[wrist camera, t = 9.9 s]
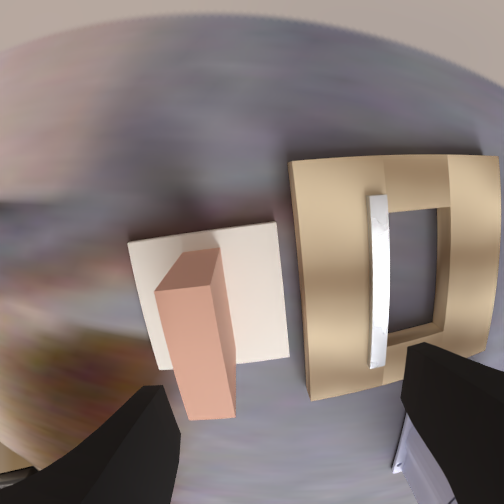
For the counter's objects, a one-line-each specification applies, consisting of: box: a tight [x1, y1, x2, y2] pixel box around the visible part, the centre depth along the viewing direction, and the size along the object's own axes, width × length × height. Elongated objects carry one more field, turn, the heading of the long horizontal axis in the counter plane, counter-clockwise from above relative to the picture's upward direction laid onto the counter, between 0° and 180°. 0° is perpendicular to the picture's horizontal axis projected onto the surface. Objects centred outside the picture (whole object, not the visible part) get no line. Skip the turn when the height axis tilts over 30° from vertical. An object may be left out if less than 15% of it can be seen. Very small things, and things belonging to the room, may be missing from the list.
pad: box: [127, 221, 290, 370], centre depth 17 cm, size 8×8×1 cm
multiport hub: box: [0, 466, 39, 489], centre depth 22 cm, size 4×14×2 cm, turn 123°
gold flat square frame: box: [287, 154, 501, 401], centre depth 17 cm, size 14×14×2 cm
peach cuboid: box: [154, 248, 236, 420], centre depth 14 cm, size 6×2×6 cm, turn 7°
